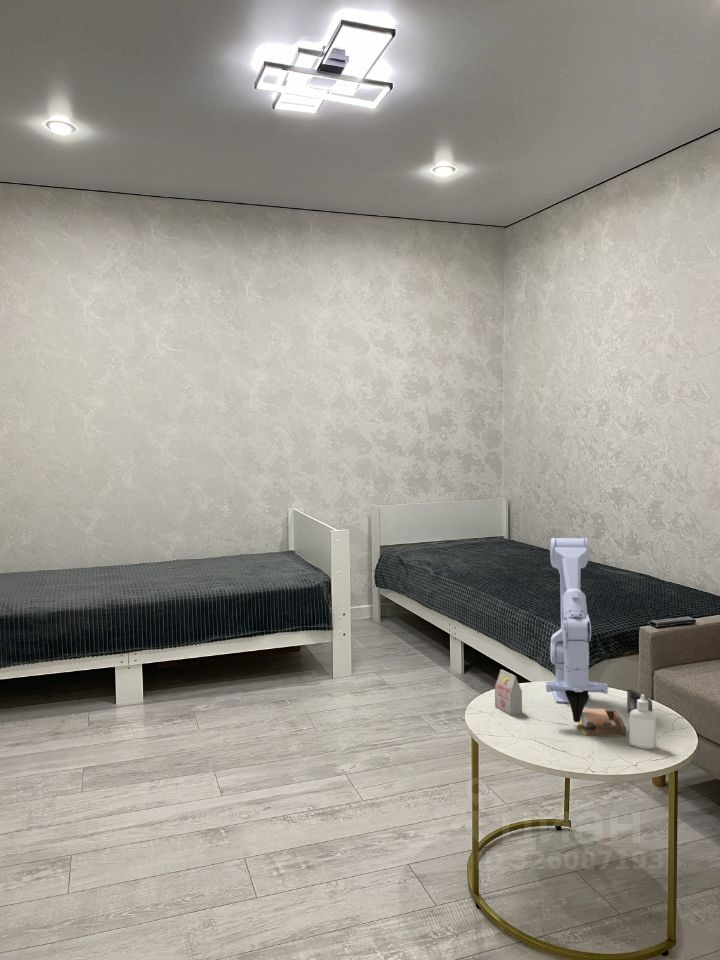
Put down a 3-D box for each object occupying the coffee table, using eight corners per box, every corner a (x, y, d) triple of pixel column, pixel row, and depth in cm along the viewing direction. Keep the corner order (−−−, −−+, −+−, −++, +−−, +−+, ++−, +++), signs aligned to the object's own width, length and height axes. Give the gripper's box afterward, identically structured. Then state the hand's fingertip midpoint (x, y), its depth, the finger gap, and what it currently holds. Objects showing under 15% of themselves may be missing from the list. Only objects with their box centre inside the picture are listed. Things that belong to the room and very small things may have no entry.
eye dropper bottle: (646, 752, 168) (647, 700, 167) (626, 744, 173) (626, 693, 172) (659, 747, 170) (659, 696, 170) (638, 739, 175) (638, 689, 174)
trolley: (579, 720, 187) (579, 708, 187) (606, 720, 186) (606, 708, 186) (584, 730, 180) (583, 718, 180) (612, 731, 179) (611, 718, 179)
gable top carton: (506, 704, 199) (506, 668, 198) (522, 713, 193) (521, 675, 192) (495, 707, 197) (494, 670, 197) (510, 715, 191) (510, 677, 191)
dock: (575, 717, 189) (575, 709, 189) (616, 718, 188) (616, 710, 188) (582, 735, 178) (582, 726, 178) (626, 736, 177) (626, 727, 177)
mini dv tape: (652, 723, 185) (652, 700, 184) (646, 724, 184) (647, 700, 184) (632, 711, 192) (632, 689, 192) (627, 712, 192) (627, 689, 192)
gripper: (548, 670, 180) (548, 725, 181) (610, 672, 178) (610, 727, 179) (544, 661, 187) (545, 714, 187) (604, 663, 185) (604, 716, 186)
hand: (576, 720), depth 184 cm, fingers closed
